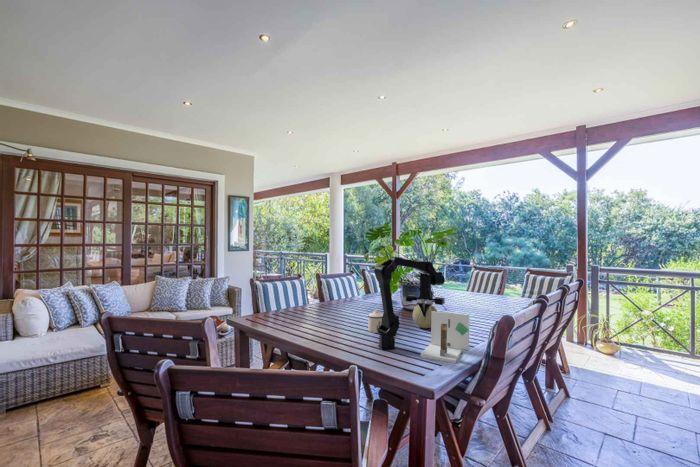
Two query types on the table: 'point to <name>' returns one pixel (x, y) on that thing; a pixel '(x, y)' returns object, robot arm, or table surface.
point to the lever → (444, 337)
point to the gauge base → (448, 336)
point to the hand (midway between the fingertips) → (424, 316)
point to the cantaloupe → (420, 319)
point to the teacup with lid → (374, 321)
